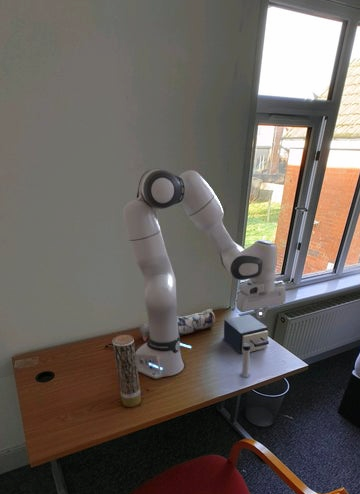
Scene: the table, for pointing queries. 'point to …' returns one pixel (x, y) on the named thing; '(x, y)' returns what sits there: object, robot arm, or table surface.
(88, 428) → the table surface
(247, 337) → the drawer
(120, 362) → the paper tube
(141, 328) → the dog figurine
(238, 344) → the cabinet
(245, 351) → the marker
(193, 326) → the pencil case
